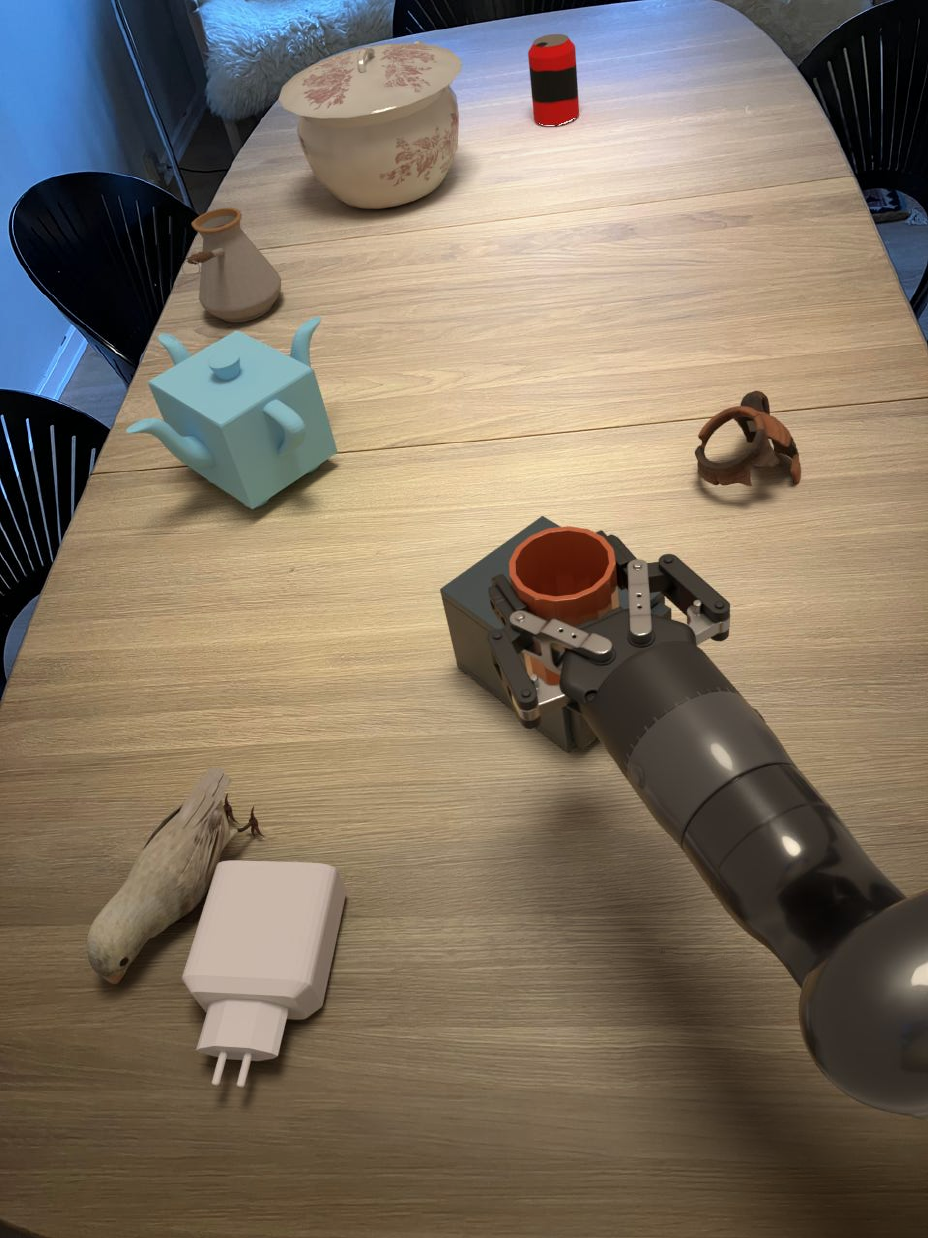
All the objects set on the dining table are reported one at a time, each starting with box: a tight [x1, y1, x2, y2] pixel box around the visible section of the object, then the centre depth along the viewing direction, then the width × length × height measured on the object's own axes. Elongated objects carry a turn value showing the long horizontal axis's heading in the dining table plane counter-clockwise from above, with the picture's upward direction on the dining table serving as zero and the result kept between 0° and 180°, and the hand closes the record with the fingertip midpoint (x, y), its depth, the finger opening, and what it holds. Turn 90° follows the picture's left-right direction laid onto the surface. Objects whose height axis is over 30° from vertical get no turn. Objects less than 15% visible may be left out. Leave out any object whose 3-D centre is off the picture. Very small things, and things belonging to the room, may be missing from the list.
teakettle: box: [125, 316, 339, 510], centre depth 111 cm, size 19×19×15 cm
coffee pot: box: [181, 207, 282, 323], centre depth 134 cm, size 21×12×15 cm, turn 179°
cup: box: [509, 525, 619, 685], centre depth 66 cm, size 6×6×10 cm
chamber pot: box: [278, 40, 463, 209], centre depth 156 cm, size 28×28×21 cm
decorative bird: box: [86, 765, 266, 985], centre depth 76 cm, size 5×16×8 cm, turn 148°
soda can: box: [527, 33, 580, 125], centre depth 169 cm, size 8×8×12 cm
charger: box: [181, 859, 348, 1089], centre depth 71 cm, size 5×9×15 cm
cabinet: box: [439, 515, 666, 753], centre depth 86 cm, size 14×12×10 cm
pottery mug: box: [694, 390, 802, 487], centre depth 103 cm, size 12×10×8 cm
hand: (548, 563), depth 65 cm, fingers closed on cup, 6 cm apart
